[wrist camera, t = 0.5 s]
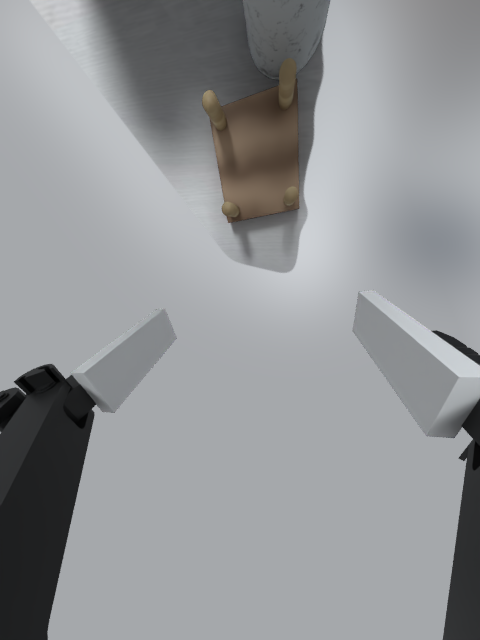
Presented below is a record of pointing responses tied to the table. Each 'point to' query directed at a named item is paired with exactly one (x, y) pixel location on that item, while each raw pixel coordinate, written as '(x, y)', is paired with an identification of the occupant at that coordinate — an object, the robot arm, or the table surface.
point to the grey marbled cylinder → (283, 31)
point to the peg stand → (258, 148)
